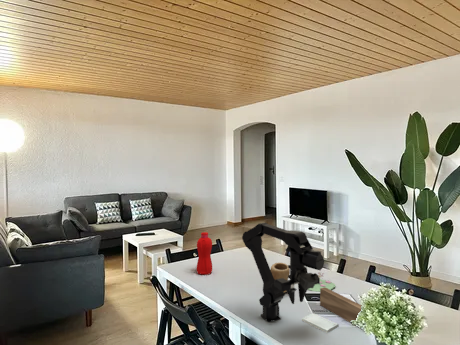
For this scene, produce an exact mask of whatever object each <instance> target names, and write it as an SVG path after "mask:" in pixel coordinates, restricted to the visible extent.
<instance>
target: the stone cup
mask: <svg viewBox="0 0 460 345" xmlns="http://www.w3.org/2000/svg"><path fill="white" fill-rule="evenodd" d="M288 265H289V264H286V263H285V262H275V263H274V264H272V265H271V266H270V270H271V273H272V275H273V278H274V279H275V280H276V279H280V278H284V279H286V280H289V278H288V275H290V268H288ZM285 293H287V291H284V294H285Z"/></svg>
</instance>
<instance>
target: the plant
mask: <svg viewBox="0 0 460 345" xmlns="http://www.w3.org/2000/svg"><path fill="white" fill-rule="evenodd" d="M321 270H322V269H321ZM321 270H319V272H317V275H318V277H319V279H320V284H315V285H314V288H309V289H307V291H310V292H318V293H320V288H324V287H325V288H328V289H330V290H333V289H334V288H336V284H335V283H334V282H331V281H330V280H325V279H323V277H324V274H325V273H324V272H323V273H320V272H321Z"/></svg>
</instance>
